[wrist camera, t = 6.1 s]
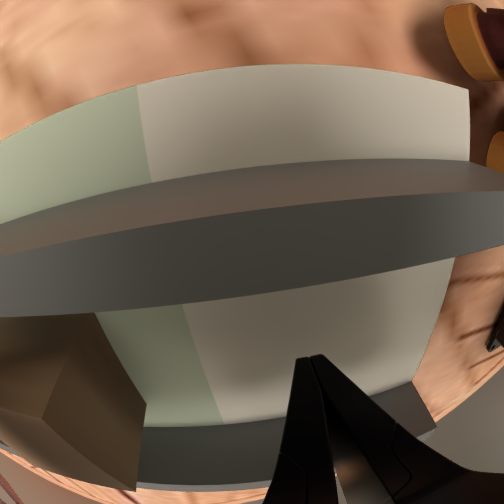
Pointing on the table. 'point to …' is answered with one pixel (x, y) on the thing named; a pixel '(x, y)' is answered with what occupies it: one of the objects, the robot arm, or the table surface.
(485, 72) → the binoculars
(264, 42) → the table surface
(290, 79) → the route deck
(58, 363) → the walnut block
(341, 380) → the robot arm
